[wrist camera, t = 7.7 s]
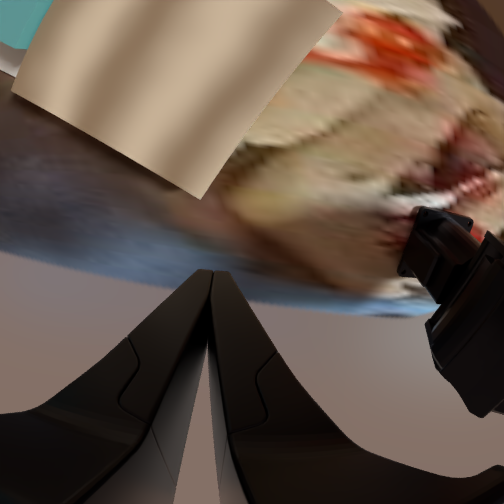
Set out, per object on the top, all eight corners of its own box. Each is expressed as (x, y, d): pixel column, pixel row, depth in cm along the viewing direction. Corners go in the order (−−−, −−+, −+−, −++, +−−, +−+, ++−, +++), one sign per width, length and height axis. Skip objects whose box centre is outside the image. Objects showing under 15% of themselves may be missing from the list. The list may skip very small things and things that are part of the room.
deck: (329, 22, 14) (343, 12, 12) (206, 184, 20) (200, 199, 17) (134, -69, 9) (119, -84, 7) (35, 86, 15) (10, 90, 13)
